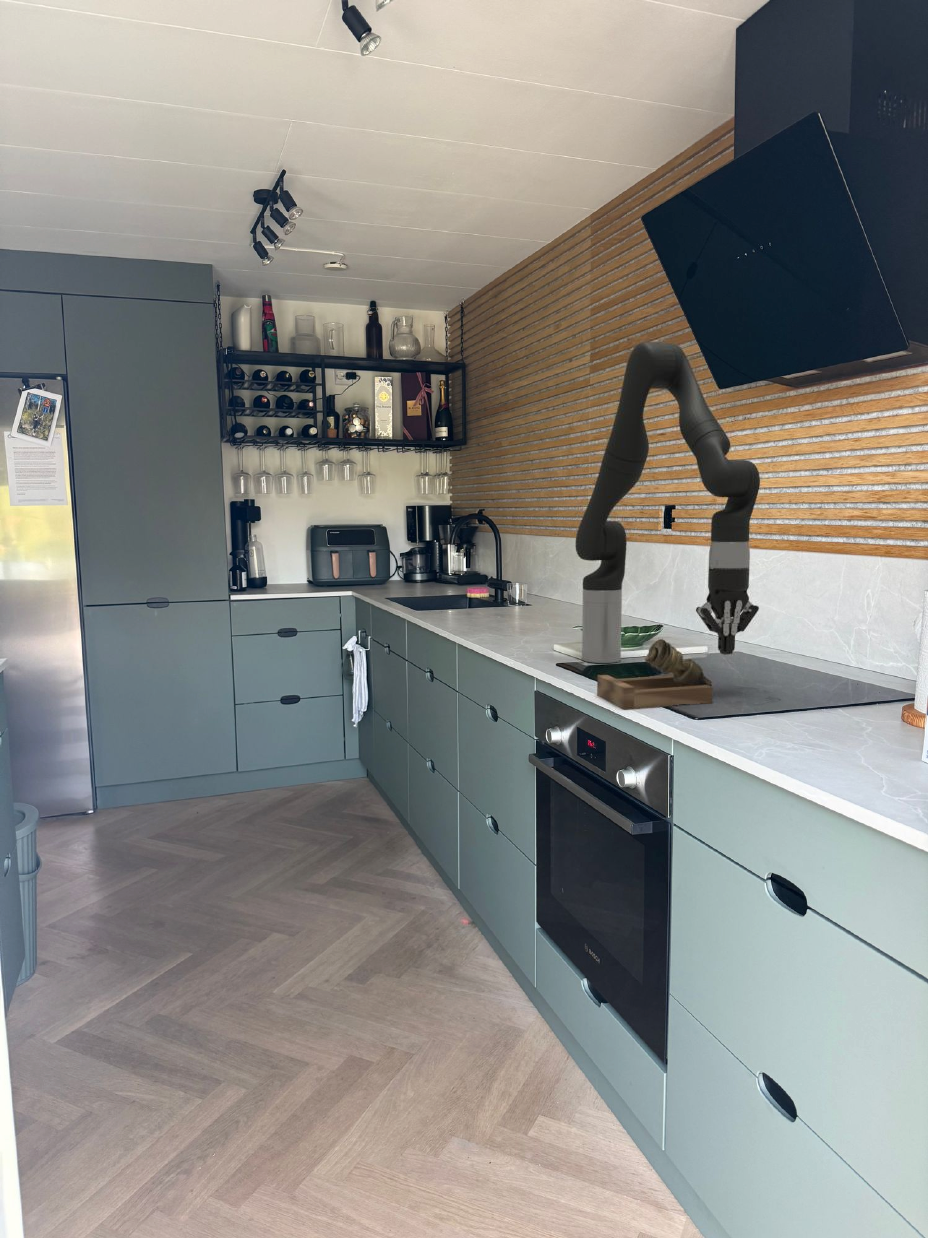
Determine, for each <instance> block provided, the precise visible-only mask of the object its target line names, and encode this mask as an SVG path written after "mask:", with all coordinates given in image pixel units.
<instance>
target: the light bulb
mask: <svg viewBox="0 0 928 1238" xmlns="http://www.w3.org/2000/svg"><path fill="white" fill-rule="evenodd" d="M683 659H684V655H683V654H682V652H681V651H679V650H677V649H676V648H675V647H674V646H672V644H671V643H669V642H666V640H665V639H663V638H662V639H657V640H656V641H655V642H654V643H652V644H651V645H650V647H649V649H648V653H647V655H646V656H645V658H644V662H646V663H647V664H650V666H651V667H653V668H656V669H657V671H662V674H664V675H668V674H671V673H672V674H673V675H674V676H673V679H674V681H675V682H677V683H678V684H680V685H682V686H683V687H685V686H699V685H708V686H711V687H713V686H712V685H713V684H712V681H711V680H710V679H709V678H707V677H706V676H705V675H704V672H703V669H702V667H701V666H700V664H698V663H697V662H695V661H694V660H692V659H690V658H687V659H685V660H683Z"/></svg>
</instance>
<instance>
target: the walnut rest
mask: <svg viewBox="0 0 928 1238" xmlns="http://www.w3.org/2000/svg"><path fill="white" fill-rule="evenodd" d="M673 676H674V674H673V675H671V674H670V675H658V676H644V677H643V676H642V677H629V678H627V677H626V678H615V677H613V676H611V675H608V674H598V675H597V680H596V682H597V684H596V686H597V689H596V690H597V691H596V696H598V697H600V698H601V699H604V700H606V702H609V703H610V704H613V705H614V706H616V707H618V708H620V709H622V710H635V709H636V710H637V709H648V708H662V707H663V708H665V707H674V706H673V705H678V706H680V705H679V704H690V705H701V704H700V703H703V704H711V703H713V693H714V692H713V691H714V690H713V688H714V687H713V686H712V687H711V686H708V685H699V686H685V687H683V686H682V685H680V684H678V683H677V682H675V681H674V679H673Z"/></svg>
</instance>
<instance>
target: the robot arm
mask: <svg viewBox="0 0 928 1238" xmlns="http://www.w3.org/2000/svg"><path fill="white" fill-rule="evenodd" d="M651 389H654V390H655V389H657V390H658V389H659V390H663V389H664V390H665V389H666V390H667V391H668V392H669V393H670V395H672V397H673V398H674V399H675V400H676V402H677V404H678V408H679V412H678V424H679V425H678V426H679V431H680V433H681V436H682V438H683V440H684V441H685V444H686V445H687V446H688V448H689V450H690V451H691V453H692V454H693V456H694V457H695V459H696V465H697V469H698V472H699V475H700V479H701V482H702V485H703V486H704V488H705V489H706V490H707V492H709V494H711V495H712V496H714V497H716V498H727V501H726V503H725V506H724V508H723V509H721V510H717V511H716V512H714V513H713V514H712V516H711V525H710V527H711V528H710V529H711V530H710V545H709V552H708V571H707V572H708V576H707V578H708V579H707V588H708V594H707V597H706V602H705V603H704V604H702V605H701V606H697V607H696V609H695V612H696V613H697V615H698V616H699V618H700V619H701V620H702V622H703V623H704V625H705V626H706V627H707V629H708V631H709V632H713V633H716V634H717V649H718V651H719V653H720V654H722V655H733V652H734V651H735V648H736V636H737V635H736V634H738V633H740V632H742V633H743V632H745V630H746V629H747V627H748V626H749V624H750V623H751V621H752V620H753V619H754V617H755V616H756V615H757V613H758V611H759V609H760V607H759V606H758V605H755V604H753V603H752V602H751V601H750V598H749V597H750V595H749V594H748V589H749V588H750V587H749V586H750V564H751V562H750V561H751V560H750V559H751V551H750V550H751V549H750V527H751V525H750V521H751V517H752V514H753V512H754V509H755V504H756V501H757V497H758V495H759V491H760V485H761V477H760V472H759V468H758V467H757V466H756V465H755V464H754V463H753V462H752V461H749V460H747V459H746V460H745V459H728V458H727V457H726V456H727V455H728V453H729V452H730V449H731V440H730V439H729V437H728V435H727V433H726V432H725V430H724V429H723V427H722V425H721V424H720V423H719V422H718V420H717V419H716V417H715V415H714V414H713V412H712V411H711V408H710V407H709V405H708V403H707V402H706V399H705V397H704V395H703V392H702V390H701V387H700V385H699V383H698V380H697V378H696V376H695V373H694V371H693V368H692V366H691V364H690V361H689V359H688V357H687V354H686V353H685V351H684V350H683V349H682V348H681V346H679V345H677V344H676V343H673V342H659V341H658V342H657V341H641V342H639V343H638V344H636V345H635V346H634V348H633V349H632V351H631V352H630V355H629V356H628V360H627V363H626V366H625V371H624V376H623V382H622V387H621V391H620V397H619V401H618V404H617V405H618V406H617V410H616V413H615V417H614V421H613V425H612V427H611V431H610V435H609V437H608V441H607V444H606V447H605V450H604V454H603V457H602V459H601V460H602V461H601V463H600V467H599V472H598V475H597V479H596V482H595V484H594V488H593V491H592V494H591V496H590V499H589V501H588V504H587V506H586V508H585V511H584V513H583V516H582V519H581V521H580V523H579V526H578V528H577V533H576V536H575V551H576V554H577V557H579V559H581V560H584V561H596V562H597V561H600V565H599V567H598V568H597V569H596V570H594V571H593V572H592V573H589V574H587V575H585V576H584V577H583V579H582V612H581V613H582V630H581V631H582V632H581V635H582V637H581V640H582V641H581V660H582V661H584V662H587V663H593V664H596V663H597V664H612V663H619V662H621V660H622V657H621V656H622V617H623V616H622V610H623V609H622V607H623V580H624V578H625V573H626V572H625V571H626V558H627V534H626V529H625V527H624V526H623V524H622V523H621V522H620V521H616V520H608V519H609V516H610V515H611V512H613V509H614V508H615V507H616V505H617V504H619V502H620V501H621V500H623V499H624V497H625V496H626V495H627V494H628V493H630V491H631V490H632V489H633V488H634V487H635V485H636V484H637V483H638V482H639V480H640V479H641V476H642V474H643V471H644V469H645V466H646V465H645V464H646V462H647V458H648V456H649V450H650V443H649V442H650V441H649V437H648V433H647V429H646V425H645V420H644V410H645V406H646V403H647V400H648V395H649V393H650V390H651ZM712 613H713V614H714V615H712Z"/></svg>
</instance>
